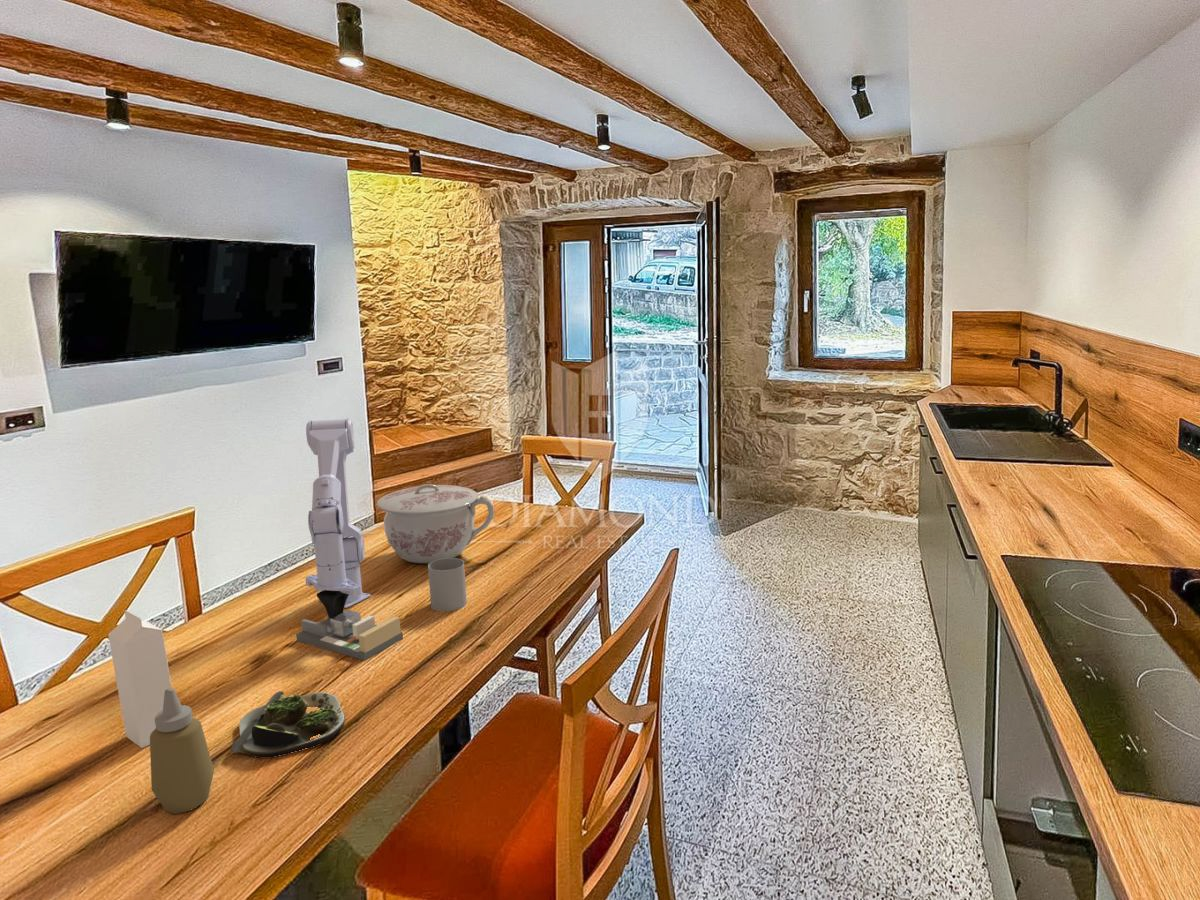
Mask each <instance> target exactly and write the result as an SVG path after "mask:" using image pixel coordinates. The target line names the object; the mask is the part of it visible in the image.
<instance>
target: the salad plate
mask: <svg viewBox="0 0 1200 900" xmlns="http://www.w3.org/2000/svg"><path fill="white" fill-rule="evenodd" d="M307 707H311V708H313V707H318V708H317V709H316V710H312V711H310V712H309V713H307V710H308V709H307ZM319 708H320V709H319ZM323 708H324V709H323ZM345 721H346V717H345V714H344V712H343V710H342V707H341V703H340V702H339V700H338V698H337V697H336V696H335V695H334V694H332V693H328V692H313V693H308V694H304V695H299V694H294V695H290V696H285V693H284V691H277V692H275V693H274V694H273V695H272V696H271V698H269V700H268V701H267V702H266V704H264V705H261V706H258V707H256V708H254V709H252V710H251V711H249V712H247V713H246V714H245V715H243V716H242V718H241V719H240V720H239V724H238V725H239V738H237V739H236V740H235V741H234V743H233V745H232V746H231V747H230V748H231V749H230V751H231V752H232V753H233V754H235V753H243V754H247V755H249V756H252V757H255V756H256V757H255V758H260V757H271V758H275V757H274V756H277V757H280V756H279V755H282V756H284V755H283V754H287V755H289V754H288V753H291V752H295V751H298V752H300V751H299V750H302V749H305V748H310V747H313V746H316V745H318V744H321V743H323V744H324V742H325V743H327V742H329V741H330V740H332V739H333V738H335V737H336V736H337V735H338V734H339V733H338V732H341V730H342V729H343V727H344V725H345ZM337 733H338V734H337ZM318 734H320V735H321V736H319V737H317V738H316V739H312V740H310V738H311V737H313V736H316V735H318ZM336 734H337V735H336ZM335 735H336V736H335ZM334 736H335V737H334ZM331 738H332V739H331ZM328 740H329V741H328ZM326 741H327V742H326ZM321 745H322V744H321ZM316 747H317V746H316ZM313 748H314V747H313ZM310 749H311V748H310ZM302 751H303V750H302ZM295 753H296V752H295ZM291 754H292V753H291Z"/></svg>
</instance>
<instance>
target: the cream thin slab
mask: <svg viewBox="0 0 1200 900" xmlns="http://www.w3.org/2000/svg"><path fill="white" fill-rule="evenodd" d="M375 620H376V619H375V616H373V615H368V616H367V617H365V618H362V619H361V620H360V621H358V622H357V623H355V624H353V625H352V628H353V638H351V639H349V640H347V643H350V642H352V641H354V640H356V639H359V635H360V634H362V633H364V632H366V631H367V630H369V629H371V628H373V627H375V625H376V621H375Z"/></svg>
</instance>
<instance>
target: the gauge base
mask: <svg viewBox="0 0 1200 900" xmlns="http://www.w3.org/2000/svg"><path fill="white" fill-rule="evenodd" d="M345 611H346V610H343V612H345ZM326 615H327V616H326V617H327V618H326V619H324V620H322V621H320V622H317V621H313V620H310V619H306V618H304V619H302V620H301V627H302V628H301V629H302V631H299V632H297V633H296V634H295V637H296V641H297V642H301V643H304V644H307V645H311V646H314V647H317V648H321V649H324V650H328V651H332V652H334V653H338V654H340V655H341V654H342V655H345V656H348V657H351V658H354V659H358V660H361V661H363V662H365V661H366V660H368V659H370V658H372V657H373V656H374V655H377V654H379V653H381V652H382V651H384V650H386V649H387V648H389V647H390V646H393V645H394V644H396V643H397V641H398V642H399V641H401V640H403V639H404V637H403V634H404V633H403V631H401V621H400V617H398V616H394V615H393V616H391V617H390V618H388V619H386V620H385V621H383V622H381V623H379V624H375V627H373V628H371V629H369V630H367V631H366V632H364V633H362V634H360V635H359V639H356V640H354V641H352V642H350V643H347V640H349V639H351V638H353V633H351V634H349V635H347V636H345V637H340V636H337V635H333V634H332V631H331V622H330V619H329V616H328V614H327V613H326ZM395 642H396V643H395ZM385 648H386V649H385ZM378 652H379V653H378Z"/></svg>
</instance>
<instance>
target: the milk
mask: <svg viewBox="0 0 1200 900" xmlns="http://www.w3.org/2000/svg"><path fill="white" fill-rule="evenodd" d="M124 616H125V618H124V619H123V620H122V621H121V622H119V623H118V625H117V626H115V627H114V628H113V629H112V630H111V631H110V632H109V633H108V641H109V645H110V653H111V657H112V663H113V669H114V675H115V681H116V685H117V686H116V687H117V692H118V697H119V704H120V709H121V715H122V721H123V725H124V727H123V728H124V732H125V737H126V738H128V739H129V740H130V741H131V742H133V743H134V744H135V745H137V746H138V747H139V748H141V749H144V748H146V747H147V746H150V735H151V733H152V732H153V731H154V730H155V729H156V725H155V716H156V715H157V714H158V713H159V712H161V711H162V710H163V704H164V694H165V690H167V689H170V688H172V681H171V676H170V669H169V663H168V662H169V661H168V656H167V650H166V643H165V638H164V632H163V629H161V628H160V627H158V626H155V625H154V624H152V623H150V622H148V621H146V620H142V618H141V617H139V616H138V615H136V614H134V613H132V612H130V611H129V610H124Z"/></svg>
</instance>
